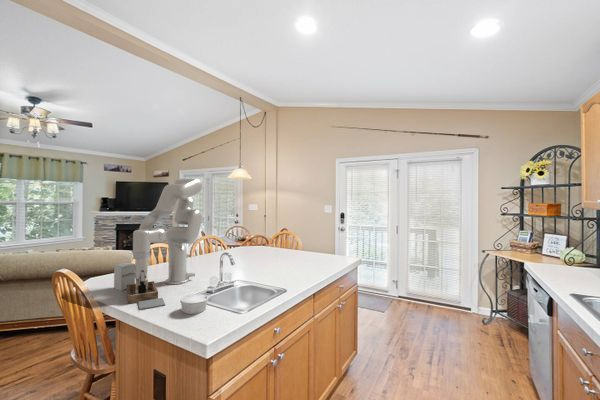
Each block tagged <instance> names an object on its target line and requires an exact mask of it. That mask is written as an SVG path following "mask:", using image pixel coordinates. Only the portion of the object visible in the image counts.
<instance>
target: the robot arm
mask: <svg viewBox="0 0 600 400" xmlns="http://www.w3.org/2000/svg"><path fill="white" fill-rule="evenodd" d="M202 189H203V183H202V181H201V180H200V179H198V178H179V179H176V180H175V181H174V183H171V184H166V185H165V186H164V187H163V189H162V191H161V195H160V197H159V198H158V202H157V203H156V206H155V208H154V209H152V210H151V211H150V212H149V213H148V214H147V215H146V216H145V217H144V218H143V219H142V222H141V223H140V225H139V227H138V229H136V230H134V231H133V233H132V259H133V260H134V264H135V281H136V280H137V279H139V285H138V294H142V293H146V284H145V279H146V278H147V279H148V267H149V266H148V261H149V258H151V244H159V243H162V242H164V241H165V240H166V241H167V246H168V278H167V279H165V284H167V285H180V284H181V285H182V284H185V283H188V282H189V281H190V277H191V278H192V277H193V278H194V277H195V276H196V274H195V272H189V273H188V272H187V247H186V244H187V245H191V244H194V243H196V241H198V240H197V239H198V237H199V233H200V229H201V225H202V221H203V215H202V212H201V210H199V209H196V208H194V204H195V203H194V202H195V201H194V198H193V196H195V195H196V194H199V193H200V192H201V191H202ZM177 201H178V203H177ZM176 203H177V207H176V211H175V215H174V218H173V219H174V220H173V221H174V222H175V224H177V225H180V226H177V225H176V226H172V227H170V228H169V229H167V232H166V230H165V229H162V228H160V227H154V226H155V224H156V223H157V222H159V221H160V220H161V219H164V218H166V217H168V216H170V215H172V213H173V211H174V208H175V206H176ZM140 278H141V279H140ZM140 280H141V281H140Z"/></svg>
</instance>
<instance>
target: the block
mask: <svg viewBox="0 0 600 400" xmlns="http://www.w3.org/2000/svg"><path fill="white" fill-rule="evenodd" d="M140 279H141V278H140ZM148 279H149V278H148V277H147V278H146V279H145V284H146V293H148V292H149V289H148V282H149V280H148ZM140 281H141V280H140ZM135 284H136V291H135V294H138V285H139V279H137V280H136V279H135Z"/></svg>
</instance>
